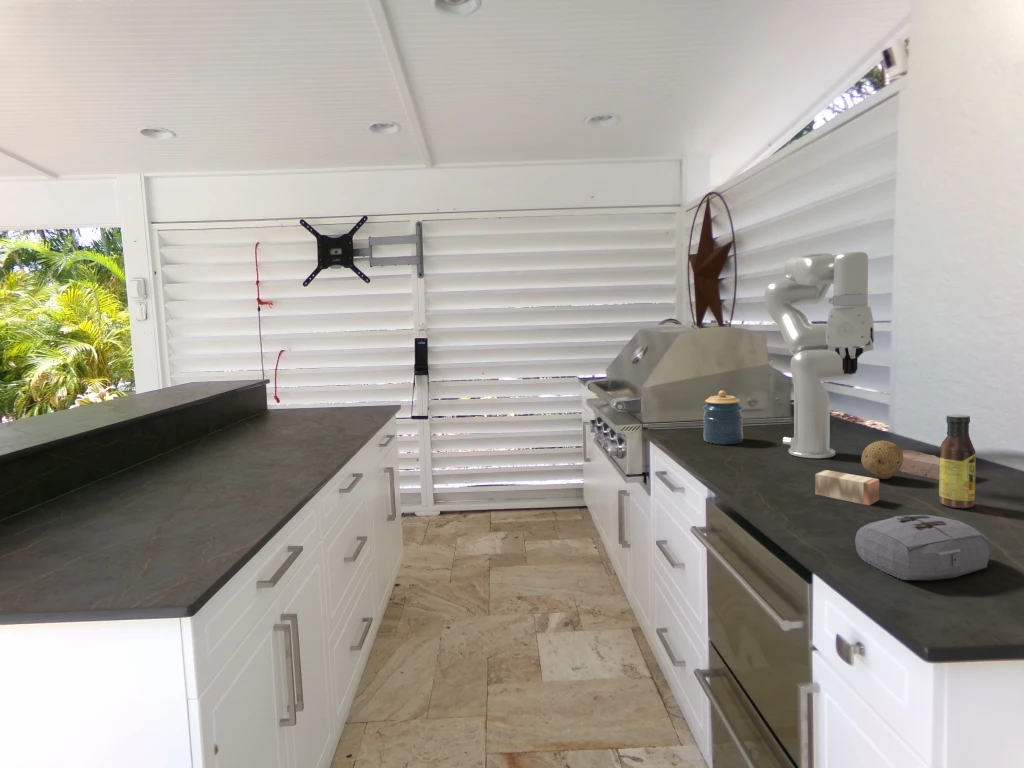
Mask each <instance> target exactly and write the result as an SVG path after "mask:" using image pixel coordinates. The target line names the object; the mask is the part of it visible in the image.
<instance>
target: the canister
mask: <svg viewBox="0 0 1024 768" xmlns="http://www.w3.org/2000/svg"><path fill="white" fill-rule="evenodd" d="M704 402H705V403H706V404H704V406H702V409H703V411H704V414H703V416H702V419H703V435H702V436H703V441H704V442H705V441H706V442H705V443H708V442H709V443H708V444H712V443H713V444H714V445H736V444H739V443H742V442H743V440H744V433H743V432H744V431H743V430H744V429H743V426H744V425H743V424H744V423H743V419H744V417H743V415H742V410H743V409H744V407H743V406H742V405H741V404H740V402H741V400H740V399H739V398H737V397H736V396H734V395H728V394H727V392H726V391H725V390H723V389H722V390H719V391H718V394H717V395H711V396H709V397H708V398H707V399H705V400H704Z"/></svg>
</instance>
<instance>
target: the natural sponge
mask: <svg viewBox="0 0 1024 768" xmlns="http://www.w3.org/2000/svg"><path fill="white" fill-rule="evenodd" d="M860 459H861V460H860V461H861V465H862V466H863V468H864V469H865V470H867V472H870V473H872V474H873V475H874V476H875V477H877V479H880V480H888V479H891V478H892V477H894V476H895V475H896V474H897V473H898V472H899V471H898V470H899V469H900V467H901V465H902V463H903V453H902V449H901V448H900V447H899V446H898V445H896V444H895V443H893V442H891V441H888V440H887V441H886V440H877V441H874V442H872V443H870V444H868V445H867V446H866V447H865V448H864V450H862V454H861V458H860Z"/></svg>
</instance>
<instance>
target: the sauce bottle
mask: <svg viewBox="0 0 1024 768" xmlns="http://www.w3.org/2000/svg"><path fill="white" fill-rule="evenodd" d="M945 421H946V424H947V425H946V426H947V427H946V428H947V431H946V437H945V438H944V440H943V441H942V442H941V444H940V447H939V448H940V457H939V458H940V473H939V480H938V482H939V484H938V486H939V487H938V490H939V492H938V496H939V503H940V504H941V505H943V506H945V507H947V508H955V509H970V508H972V507H974V505H975V498H976V497H975V496H976V470H977V469H976V465H977V464H976V463H977V462H976V459H977V458H976V456H977V452H976V450H975V448H974V445H973V442H972V440H971V438H970V433H969V432H970V431H969V430H970V429H969V428H970V425H969V424H970V423H971V416H970V415H966V414H947V415H946V420H945Z"/></svg>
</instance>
